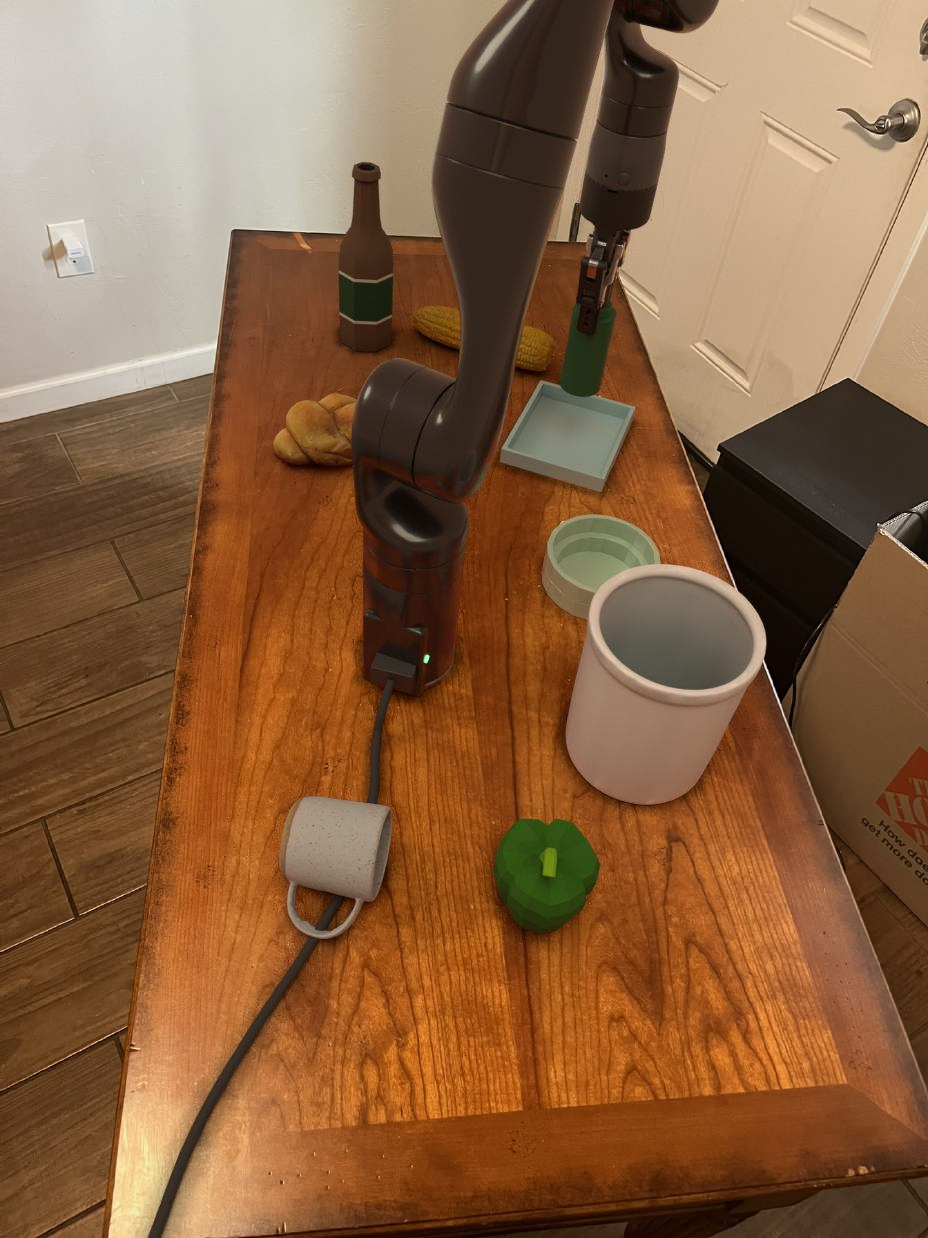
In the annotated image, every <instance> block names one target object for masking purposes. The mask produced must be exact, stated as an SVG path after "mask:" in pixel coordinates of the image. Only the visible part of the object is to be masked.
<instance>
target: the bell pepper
mask: <svg viewBox="0 0 928 1238" xmlns="http://www.w3.org/2000/svg"><path fill="white" fill-rule="evenodd" d="M600 869H601V863H600V861H599V858H598V856H597V855H596V852H595V851H594V848H593V847H592V845H591V843H590V841H589V840H588V838H587V837H586V836H585V835H584V834H583V833H582V831H581V830H580V829H579V828H578V827H577V825H576V824H575V823H574V822H572V821H569V820H564V819H560V818H555V819H554V820H553V821H551V822H550V823H549V824H547V823H545V822H544V821H542V820H540V819H539V818H520V819H518V820H515V822H514V823H513V824H512V825H511V827H510V828H508V830H507V831H506V833H505V834H504V835H503V837H501V839H500V840H499V845H498V847H497V851H496V853H495V857H494V861H493V868H492V871H493V875H494V881H495V885H496V887H497V892H498V894H499V896H500V897H499V898H500V899H501V902H502V904H503V905H505V906H506V907H507V909H508V914H509V916H510V918H511V919H512V920H513V921H514V922H515V923H516V924H517V925H518V926H519V928H521V929H524V930H525V931H529V932H532V933H535V934H538V935H540V934H542V935H543V934H547V933H555V932H556V931H559V930H560V929H561V928H562V927H564V926H565V925H566V924H567V923H569V921H570V920H572V919H573V918H574V917H576V916H577V915H578V914H579V913H580V912H582V911H583V909H584V907H585V905H586V903H587V900H588V899H587V897H588V895H590V894H591V893H592V892H593V891H594V888H595V887H596V884H597V882H598V878H599V875H600V874H599V873H600Z"/></svg>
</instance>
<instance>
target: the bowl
mask: <svg viewBox="0 0 928 1238" xmlns="http://www.w3.org/2000/svg"><path fill="white" fill-rule="evenodd" d="M653 564H662V563H661V557H660V551H659V549H658V546H657V545H656V544H655V542H654V540H653V538H651V537H650V535H648V534H647V533H646V532H645V531H644V530H642V529H641V528H640V527H638V526H636V525H635V524H633V523H631V522H629V521H627V520H624V519H622V518H618V517H615V516H612V515H608V514H607V515H606V514H595V513H591V514H584V515H583V514H582V515H577V516H573V517H571V518H568V519H566V520H564V521H562V522H561V523H560V524H558V525H557V526H556V527H555V528H554V529H553V530H552V531H551V533H550V535H549V538H548V539H547V542H546V547H545V552H544V557H543V562H542V567H541V584H542V586H543V588H544V590H545V592H546V595H547V596H548V597H549V598H550V600H552V601H553V603H555V605H556V606H557V607H558V608H560V609H561V610H563V611H565V612H567V613H568V614H569V615H571V616H573V617H576V618H578V619H582V620H585V621H587V617H588V612H589V607H590V604H591V601H592V598H593V596H594V594H595V593H596V592H597V590H598V589H599V588H600V586H601V585H602V584H603V583H604V582H606V581H607V580H608V579H609V578H611V577H612V576H614V575H616V574H617V573H620V572H622V571H624V570H627V569H630V568H633V567H638V566H643V565H653Z"/></svg>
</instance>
